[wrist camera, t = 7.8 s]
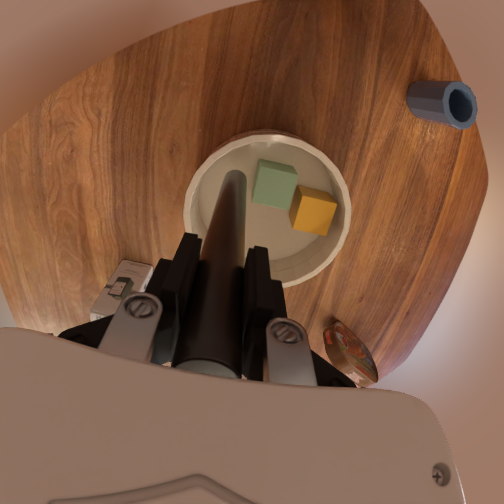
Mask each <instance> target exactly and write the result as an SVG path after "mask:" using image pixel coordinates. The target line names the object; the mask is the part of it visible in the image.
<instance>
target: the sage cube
mask: <svg viewBox="0 0 504 504" xmlns="http://www.w3.org/2000/svg"><path fill="white" fill-rule="evenodd" d="M297 179H298V174H297V172H296V170H295V169H294V167H293V166H289V165H285V164H281V163H277V162H273V161H268V160H264V159H259V161H258V165H257V170H256V174H255V178H254V182H253V186H252V191H251V192H252V203H257V204H262V205H266V206H271V207H276V208H280V209H285V210H289V207H290V203H291V200H292V196H293V193H294V189H295V186H296V182H297Z"/></svg>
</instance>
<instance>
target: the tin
mask: <svg viewBox="0 0 504 504" xmlns="http://www.w3.org/2000/svg"><path fill="white" fill-rule="evenodd" d="M323 338H324V344H325V350H326V353H327V355H328V357H329V359H330V361H331V363H332V364H333V365H334V367H335V368H336V369H338V370H339V371H340V372H342V373H343V374H344V375H346V376H347V377H349V378H350V379H351V380H352V381H353V382H354V383H355V384H357V385H358V386H360V387H367V386H369V385H371V384H373V383H377V382H378V372H377V368H376V365H375V363H374V360H373V358H372V356H371V354H370V352H369V351H368V349H367V348H366V346H365V345H364V344H363V343H362V342H361V341H360V340H359V339H358V338H357V337H356V336H355V335H354V334H353V333H352V332H351V331H350V330H349V329H348V328H347V327H346V326H345V325H344V324H343V323H341V322H335V324H333V325H331V326H330V327H328V328H326V329H325V330H324V332H323Z"/></svg>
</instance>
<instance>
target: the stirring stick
mask: <svg viewBox="0 0 504 504" xmlns="http://www.w3.org/2000/svg"><path fill="white" fill-rule="evenodd" d="M246 192H247V178H246V175H245V174H244V173H243V172H242V171H240V170H231V171H229V172H227V173H226V175H225V177H224V180H223V183H222V186H221V189H220V192H219V195H218V198H217V201H216V205H215V208H214V211H213V214H212V217H211V221H210V224H209V227H208V230H207V234H206V237H205V240H204V244H203V247H202V251H201V254H200V259H199V264H198V267H197V271H196V274H195V278H194V281H193V285H192V289H191V292H190V296H189V300H188V304H187V308H186V311H185V315H184V319H183V323H182V325H181V327H180V331H179V335H178V339H177V343H176V347H175V351H174V355H173V359H172V363H171V367H172V368H177V369H182V370H188V371H193V372H199V373H204V374H210V375H216V376H223V377H230V378H237V379H241V378H242V305H243V273H244V257H245V224H246Z"/></svg>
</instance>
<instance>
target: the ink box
mask: <svg viewBox="0 0 504 504" xmlns="http://www.w3.org/2000/svg"><path fill="white" fill-rule="evenodd" d="M152 270H153V267H152V266H151V265H147V264H143V263H138V262H133V261H128V260H122V261H121V263H120V264H119V266H118V268H117V269H116V271H115V272H114V274H113V275H112V277H111V278H110V280H109V281H108V283H107V284H106V286H105V287H104V289H103V290H102V292H101V294H100V295H99V297H98V298H97V300H96V301H95V303H94V305H93V306H92V308H91V309H90V314H89V316H90V321H94V320H97V319H100V318H103V317H106V316H109V315H112V314H115V312H116V310H117V308H118V306H119V304H120V302H121V301H122V300H123V298H124V297H126V296H127V295H129V294H132V293H135V292H144V291H145V288H146V286H147V284H148V282H149V280H150V278H151V276H152Z"/></svg>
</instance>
